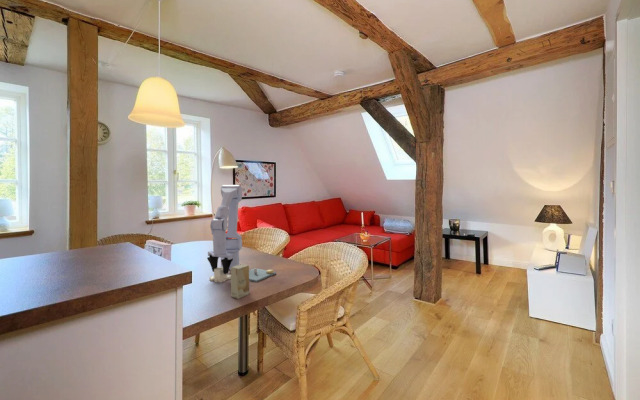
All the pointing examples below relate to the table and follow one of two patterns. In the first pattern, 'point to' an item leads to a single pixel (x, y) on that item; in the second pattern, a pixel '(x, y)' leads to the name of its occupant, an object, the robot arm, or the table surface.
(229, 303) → the table surface
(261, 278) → the carrier plate
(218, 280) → the gear
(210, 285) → the table surface
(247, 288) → the skincare box
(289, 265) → the table surface
